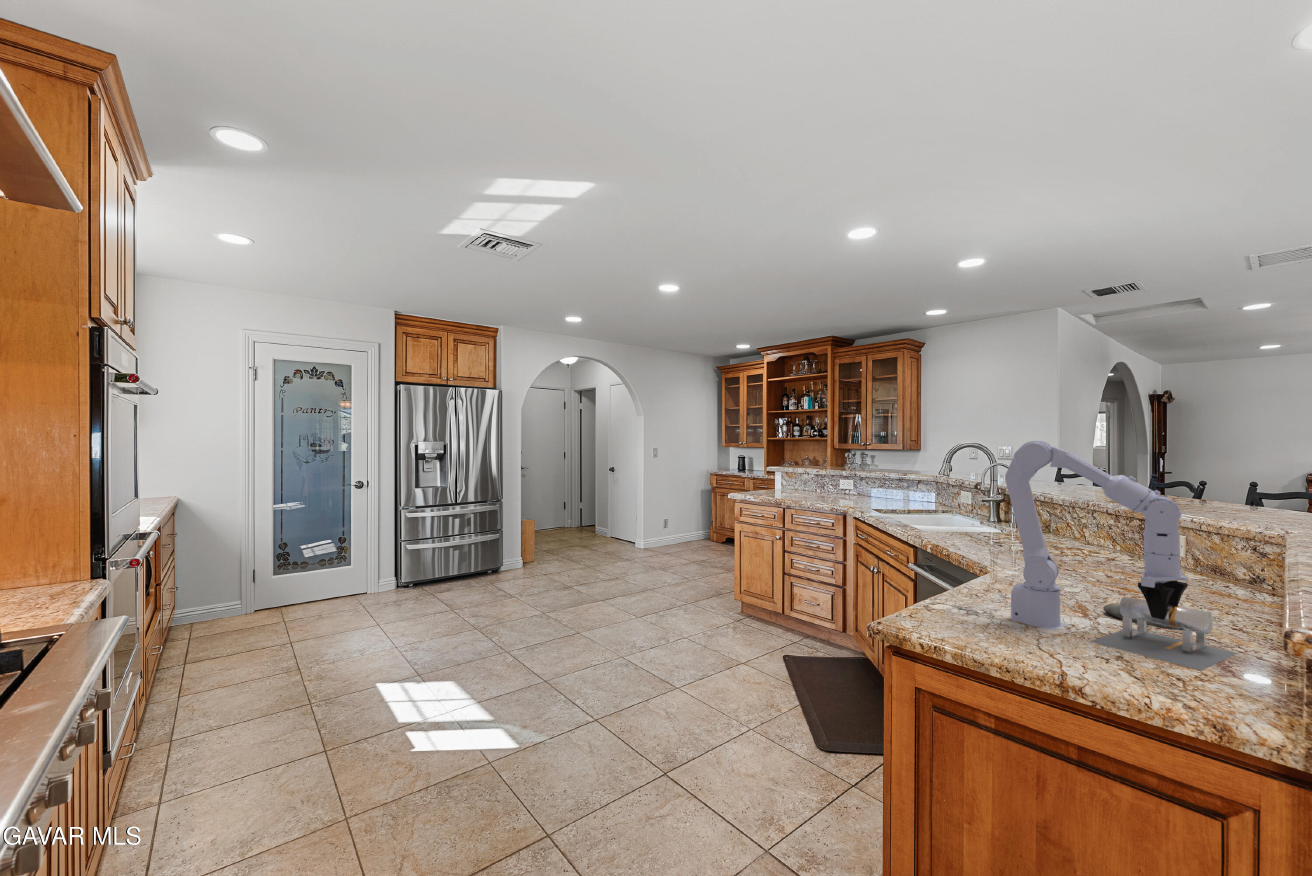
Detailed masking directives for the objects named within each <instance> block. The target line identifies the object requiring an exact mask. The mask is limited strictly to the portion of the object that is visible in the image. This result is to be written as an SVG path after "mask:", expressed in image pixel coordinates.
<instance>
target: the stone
mask: <svg viewBox="0 0 1312 876" xmlns="http://www.w3.org/2000/svg"><path fill="white" fill-rule="evenodd" d="M1103 610H1104V612H1106V613H1108V614H1110V615H1112V616H1114V617H1115V618H1118V619H1121V620H1123V617H1124V616H1122V615H1121V612H1120V603H1111V604H1107V605H1104V606H1103ZM1132 623H1136V624H1137V619H1134V618H1132ZM1147 625H1148V626H1152V627H1157V628H1162V629H1168V630H1174V631H1181V632H1182V630H1184V629H1181V628H1176V627H1172V626H1167V625H1162V624H1157V623H1153V622H1148V621H1146V626H1147Z"/></svg>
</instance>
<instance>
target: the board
mask: <svg viewBox="0 0 1312 876" xmlns="http://www.w3.org/2000/svg"><path fill="white" fill-rule="evenodd" d="M1134 631H1137V629H1135V628H1132V632H1134ZM1089 642H1091V643H1093V644H1098V645H1101V646H1105V647H1108V648H1109V647H1110V648H1114V649H1115V650H1116V649H1117V650H1120V651H1125V652H1128V653H1132V654H1136V655H1139V656H1143V657H1147V658H1151V659H1154V660H1159V661H1162V662H1166V663H1169V664H1173V665H1177V666H1181V667H1183V668H1184V667H1185V668H1189V669H1193V670H1196V671H1200V672H1202V671H1204V670H1207V669H1208V668H1211V667H1212V666H1214V665H1216V664H1219V663H1221V662H1224V661H1225V660H1227V659H1229V658H1231V657H1233V656H1235V655H1237V654H1238V652H1235V651H1232V650H1231V651H1230V650H1226V649H1222V648H1218V647H1212V646H1209V645H1206V646H1207V647H1206V648H1203V649H1201V650H1199V651H1197V652H1194V653H1192V654H1188V653H1184V652H1183V645H1182V639H1179V638H1174V637H1170V636H1165V635H1162V634H1157V633H1152V632H1148V631H1147V633H1146V634H1143V635H1140V636H1137V637H1135V638H1132V639H1127V638H1123V629H1122V630H1120V631H1119V630H1117V631H1116V632H1113V633H1111V634H1110V633H1109V634H1108V635H1104V636H1101V637H1098V638H1095V639H1093V640H1089ZM1195 644H1196V643H1195V642H1193V645H1195Z"/></svg>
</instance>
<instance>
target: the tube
mask: <svg viewBox="0 0 1312 876" xmlns="http://www.w3.org/2000/svg"><path fill="white" fill-rule="evenodd" d="M1119 604H1120V612H1121V615H1122V616H1126V617H1131V618H1134V619H1139V620H1143V621H1148V622H1153V623H1157V624H1162V625H1167V626H1172V627H1176V628H1181V629H1183V630H1184V629H1186V630H1191V631H1192V632H1195V633H1196V632H1200V633H1204V634H1206V635H1209V634H1211V632H1212V630H1213V626H1214V625H1213V624H1214V623H1213V622H1214V621H1213V620H1214V619H1213V614H1212V613H1211V612H1209V611H1205V610H1199V609H1194V608H1188V607H1185V606H1184V607H1182V606H1179V605H1178V606H1173V605H1168V607H1167V614H1166V618H1165V619H1164V620H1162V619H1157V618H1153V617H1151V614H1150V611H1149V608H1148V605H1147V602H1146V599H1145V600H1144V599H1141V598H1140V599H1139V598H1136V597H1135V598H1133V597H1129V596H1123V597H1121V600H1120V603H1119Z"/></svg>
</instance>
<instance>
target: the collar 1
mask: <svg viewBox="0 0 1312 876" xmlns="http://www.w3.org/2000/svg"><path fill="white" fill-rule="evenodd" d="M1136 625H1137V629H1136V630H1137V631H1134V632H1132V629H1133V622H1132V618H1131V617H1126V616H1124V617H1123V619H1122V630H1123V638H1127V639H1132V638H1135V637H1137V636H1140V635H1143V634H1146V633H1147V632H1148V631H1147V625H1146V621H1143V620H1139V619H1137V623H1136Z"/></svg>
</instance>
